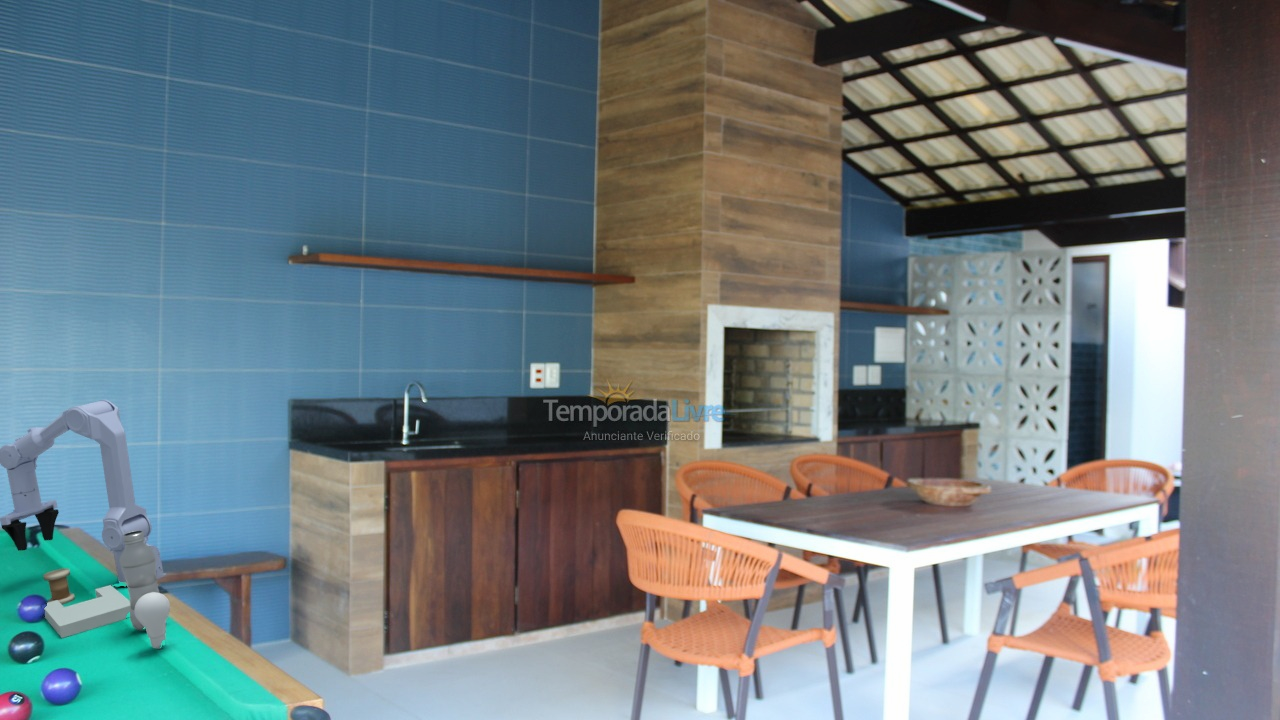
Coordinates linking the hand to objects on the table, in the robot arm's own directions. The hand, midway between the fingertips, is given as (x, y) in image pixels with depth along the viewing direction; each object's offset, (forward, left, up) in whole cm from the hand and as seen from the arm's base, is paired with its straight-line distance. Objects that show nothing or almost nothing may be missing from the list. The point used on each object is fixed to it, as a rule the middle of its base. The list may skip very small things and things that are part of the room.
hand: (35, 544), depth 243 cm
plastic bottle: (-57, +28, -10) cm, 64 cm away
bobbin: (-18, +12, -10) cm, 24 cm away
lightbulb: (-68, +38, -10) cm, 79 cm away
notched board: (-34, +21, -10) cm, 41 cm away
